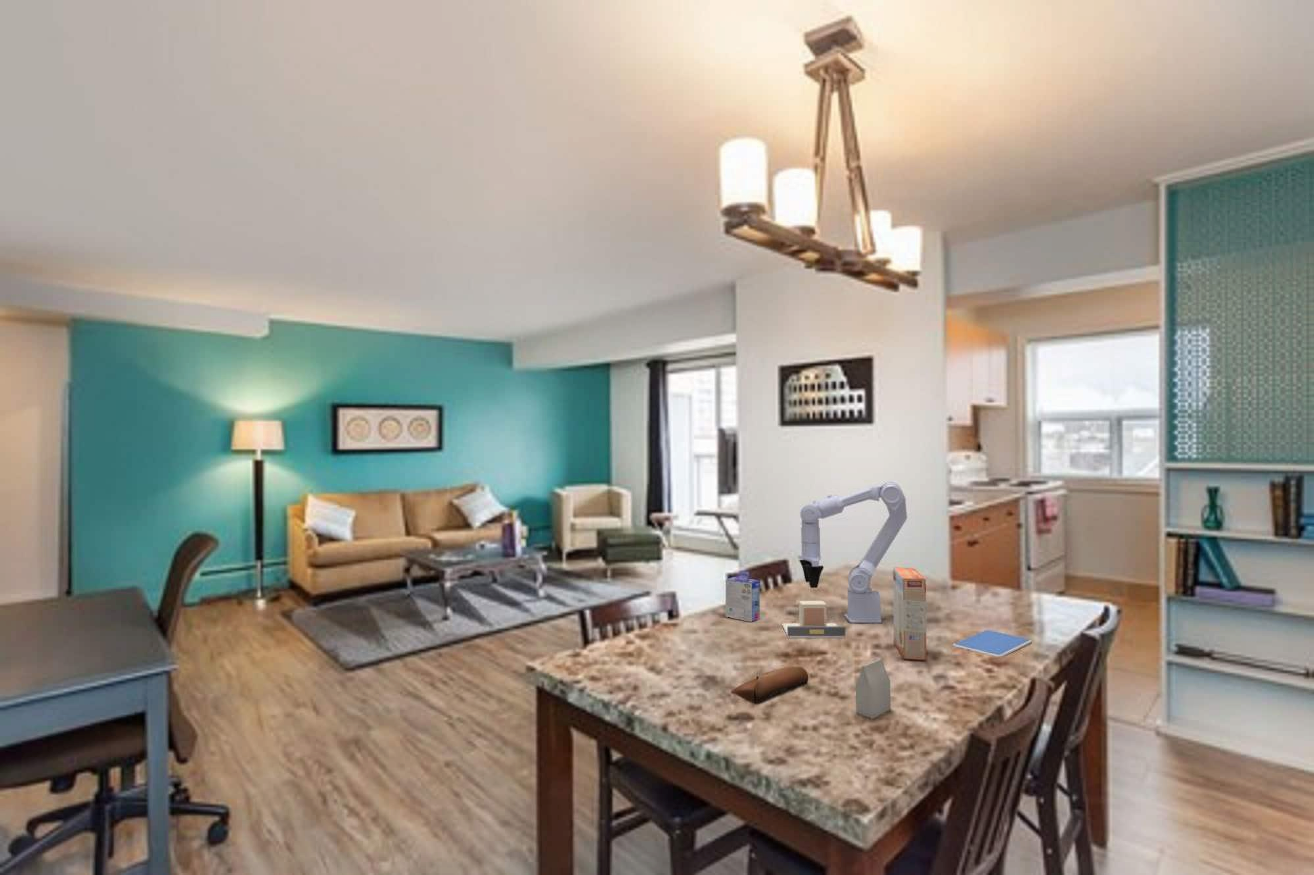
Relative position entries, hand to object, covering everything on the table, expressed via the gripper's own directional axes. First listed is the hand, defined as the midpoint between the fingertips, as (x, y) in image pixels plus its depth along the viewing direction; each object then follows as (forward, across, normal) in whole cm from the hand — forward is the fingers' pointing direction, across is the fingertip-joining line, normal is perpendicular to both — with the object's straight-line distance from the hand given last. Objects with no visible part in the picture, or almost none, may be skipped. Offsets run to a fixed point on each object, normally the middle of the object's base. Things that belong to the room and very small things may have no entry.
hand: (811, 584), depth 197 cm
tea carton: (+9, +17, -3) cm, 20 cm away
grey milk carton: (+10, +69, -1) cm, 70 cm away
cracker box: (+10, +33, +19) cm, 39 cm away
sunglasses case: (+11, +57, -21) cm, 62 cm away
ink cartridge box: (+10, +2, -22) cm, 24 cm away
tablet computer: (+11, +27, +43) cm, 52 cm away
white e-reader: (+10, +16, -3) cm, 19 cm away
